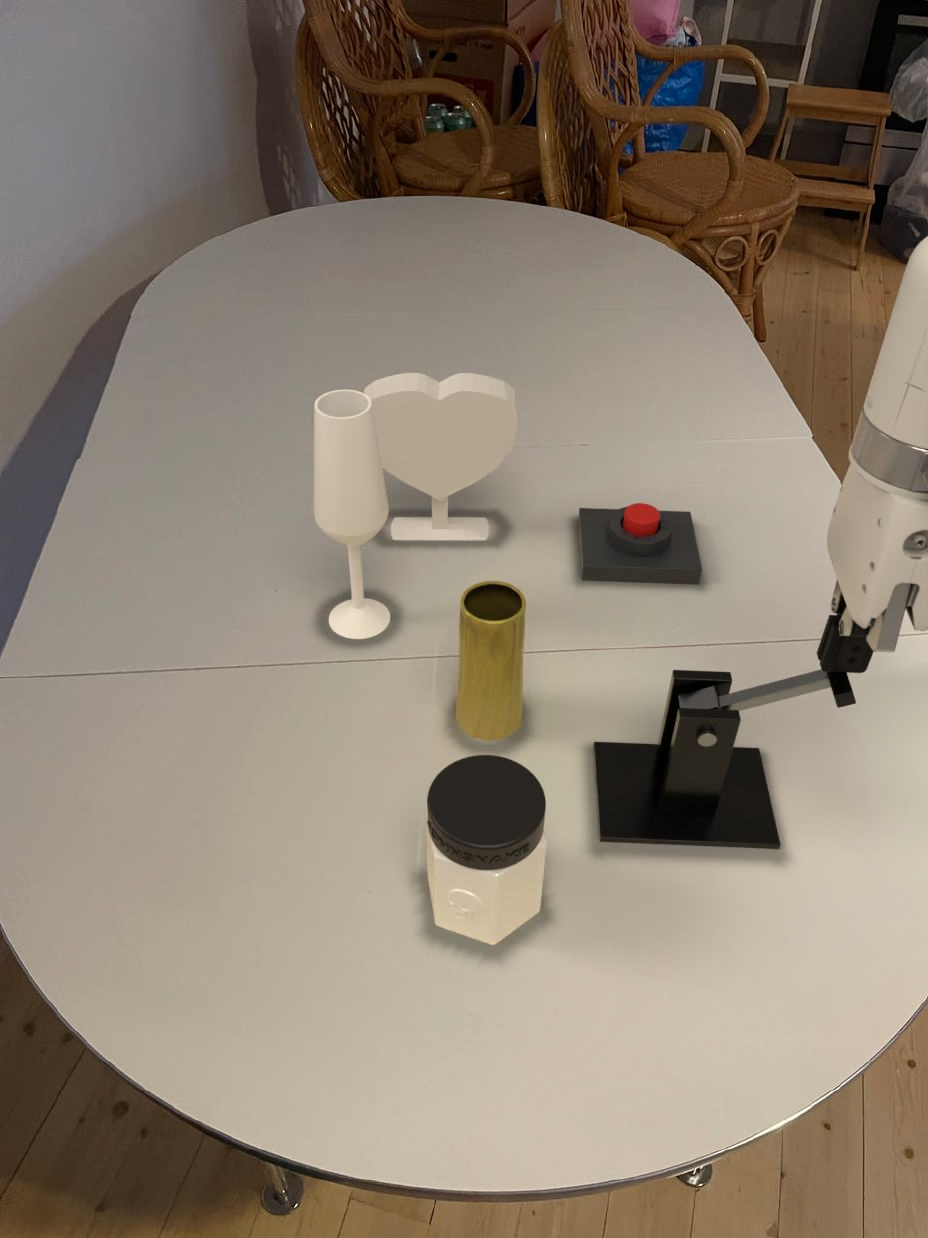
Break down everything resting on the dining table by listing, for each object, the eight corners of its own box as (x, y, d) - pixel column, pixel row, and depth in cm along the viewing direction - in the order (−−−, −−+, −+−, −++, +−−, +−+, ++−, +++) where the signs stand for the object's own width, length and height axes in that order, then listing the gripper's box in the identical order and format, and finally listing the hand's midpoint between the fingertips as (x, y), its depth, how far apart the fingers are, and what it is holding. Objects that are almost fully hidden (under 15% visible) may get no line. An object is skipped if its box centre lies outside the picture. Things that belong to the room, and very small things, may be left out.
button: (656, 516, 109) (658, 503, 108) (659, 537, 107) (661, 524, 106) (621, 515, 109) (623, 502, 108) (624, 536, 107) (626, 522, 106)
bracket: (755, 759, 89) (788, 651, 81) (776, 856, 82) (815, 748, 73) (592, 752, 90) (607, 644, 81) (598, 849, 82) (615, 741, 74)
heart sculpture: (510, 516, 115) (517, 369, 103) (512, 544, 111) (520, 395, 99) (369, 516, 115) (360, 368, 103) (367, 544, 111) (357, 394, 99)
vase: (439, 721, 92) (439, 598, 83) (490, 688, 95) (494, 566, 86) (487, 760, 89) (491, 638, 79) (537, 725, 92) (547, 603, 83)
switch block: (687, 527, 114) (693, 497, 111) (698, 586, 107) (705, 555, 104) (577, 523, 114) (580, 493, 112) (581, 582, 107) (584, 551, 104)
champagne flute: (388, 593, 105) (377, 380, 89) (399, 638, 100) (389, 420, 84) (321, 602, 104) (298, 387, 88) (329, 647, 99) (306, 429, 83)
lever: (841, 659, 78) (835, 638, 76) (858, 708, 74) (851, 686, 73) (684, 701, 82) (675, 681, 80) (692, 750, 78) (683, 730, 76)
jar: (406, 925, 77) (401, 825, 69) (447, 840, 83) (447, 739, 75) (521, 965, 75) (530, 866, 67) (555, 875, 80) (566, 774, 72)
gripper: (1027, 522, 57) (922, 745, 69) (944, 385, 68) (867, 599, 80) (888, 516, 57) (808, 740, 69) (829, 381, 68) (769, 595, 80)
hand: (840, 664), depth 75 cm, fingers closed
